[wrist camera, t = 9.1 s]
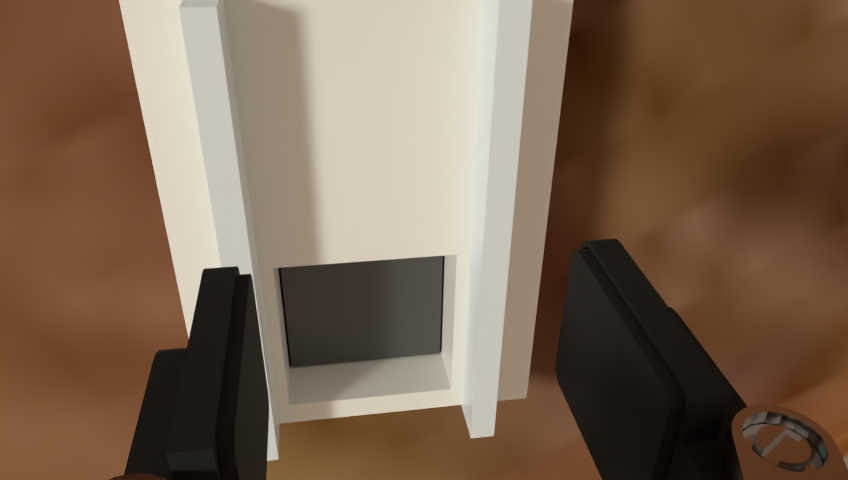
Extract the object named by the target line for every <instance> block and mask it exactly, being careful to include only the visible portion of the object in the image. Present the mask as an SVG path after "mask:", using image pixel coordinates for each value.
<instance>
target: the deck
mask: <svg viewBox="0 0 848 480" xmlns="http://www.w3.org/2000/svg"><path fill="white" fill-rule="evenodd" d="M119 3H120V7H121V12H122V17H123V22H124V27H125V32H126V37H127V41H128V46H129V51H130V56H131V61H132V66H133V71H134V75H135V80H136V85H137V90H138V95H139V100H140V104H141V109H142V114H143V119H144V124H145V129H146V134H147V138H148V143H149V148H150V153H151V158H152V163H153V168H154V172H155V177H156V182H157V187H158V192H159V197H160V201H161V206H162V211H163V216H164V221H165V226H166V231H167V235H168V240H169V245H170V250H171V255H172V260H173V265H174V269H175V274H176V279H177V284H178V289H179V294H180V298H181V303H182V308H183V313H184V318H185V323H186V328H187V332H188V337H189V336H190V331H191V326H192V321H193V316H194V311H195V306H196V301H197V296H198V291H199V286H200V281H201V276H202V272H203V269H206V268H220V267H234V266H237V267H238V268H239V272H240V275H241V274H251V275H252V280H253V287H254V294H255V301H256V309H257V316H258V323H259V330H260V338H261V345H262V352H263V359H264V366H265V374H266V381H267V388H268V397H269V426H268V449H267V461H270V460H278V459H279V423H289V422H298V421H308V420H318V419H327V418H337V417H347V416H357V415H366V414H376V413H386V412H395V411H405V410H415V409H424V408H434V407H444V406H453V405H462V409H463V412H464V416H465V420H466V423H467V427H468V430H469V434H470V438H479V437H488V436H494V427H495V416H496V405H497V401H502V400H512V399H521V398H526V397H527V388H528V380H529V372H530V363H531V355H532V346H533V338H534V329H535V321H536V313H537V304H538V296H539V287H540V279H541V270H542V262H543V254H544V245H545V237H546V228H547V220H548V211H549V203H550V194H551V186H552V178H553V169H554V161H555V152H556V144H557V135H558V127H559V119H560V110H561V102H562V93H563V85H564V76H565V68H566V60H567V51H568V43H569V34H570V26H571V17H572V9H573V0H119ZM443 256H444V280H443V311H442V342H441V352H440V333H441V301H442V268H443ZM278 268H281V277H282V286H283V295H284V304H285V313H286V322H287V331H288V340H289V348H290V357H291V366H290V365H289V357H288V348H287V339H286V330H285V322H284V313H283V304H282V295H281V287H280V278H279V269H278Z"/></svg>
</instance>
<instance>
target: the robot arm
mask: <svg viewBox="0 0 848 480" xmlns="http://www.w3.org/2000/svg"><path fill="white" fill-rule="evenodd" d="M556 375H557V380H558V383H559V386H560V388H561V390H562V392H563V394H564V397H565V399H566V401H567V403H568V405H569V407H570V410H571V412H572V414H573V416H574V418H575V421H576V423H577V425H578V427H579V429H580V432H581V434H582V436H583V438H584V440H585V443H586V445H587V447H588V449H589V451H590V454H591V456H592V458H593V460H594V462H595V465H596V467H597V469H598V471H599V473H600V475H601V478H602V480H848V469H847V467H846V464H845V462H844V460H843V457H842V455H841V453H840V450H839V448H838V446H837V445H836V443H835V441H834V440H833V438H832V437H831V435H830V434H829V433H828V432H827V431H825V430H824V429H823V428H822V427H821V426H820V425H819V424H818V423H816V422H814V421H813V420H811V419H810V418H808V417H807V416H805V415H803V414H800V413H798V412H796V411H793V410H791V409H788V408H784V407H779V406H775V405H754V406H750V407H747V405H746V404H745V403H744V401H743V400H742V399H741V397H740V396H739V395H738V393H737V392H736V391H735V390H734V388H733V387H732V386H731V384H730V383H729V382H728V380H727V379H726V378H725V376H724V375H723V374H722V372H721V371H720V370H719V368H718V367H717V366H716V364H715V363H714V362H713V360H712V359H711V358H710V356H709V355H708V354H707V352H706V351H705V350H704V348H703V347H702V346H701V344H700V343H699V342H698V340H697V339H696V338H695V336H694V335H693V334H692V332H691V331H690V330H689V328H688V327H687V326H686V324H685V323H684V322H683V320H682V319H681V318H680V316H679V315H678V314H677V313H676V312H675V311H674V310H673V309H672V308H670V307H668V306H667V305H666V303H665V302H664V301H663V299H662V298H661V297H660V295H659V294H658V293H657V291H656V290H655V289H654V287H653V286H652V285H651V283H650V282H649V281H648V279H647V278H646V277H645V275H644V274H643V273H642V271H641V270H640V268H639V267H638V266H637V264H636V263H635V262H634V260H633V259H632V258H631V256H630V255H629V254H628V252H627V251H626V250H625V248H624V247H623V246H622V244H621V243H620V242H619V241H618V240H617V239H605V240H591V241H585V242H583V244H582V246H581V249H577V250H574V251H573V253H572V256H571V262H570V269H569V276H568V283H567V290H566V297H565V304H564V311H563V318H562V325H561V332H560V339H559V346H558V353H557V360H556ZM268 426H269V397H268V388H267V381H266V374H265V366H264V359H263V352H262V345H261V338H260V330H259V323H258V316H257V309H256V301H255V294H254V287H253V280H252V275H251V274H241V275H240V272H239V268H238V267H237V266H234V267H220V268H206V269H203V272H202V276H201V281H200V286H199V291H198V296H197V301H196V306H195V311H194V316H193V321H192V326H191V331H190V336H189V341H188V346H187V348H180V349H169V350H159V351H158V352H157V353H156V354H155V357H154V360H153V364H152V368H151V371H150V375H149V379H148V383H147V387H146V391H145V395H144V399H143V403H142V407H141V410H140V414H139V418H138V422H137V426H136V430H135V434H134V438H133V442H132V445H131V449H130V453H129V457H128V461H127V465H126V469H125V473H124V475H122V476H118V477H114V478H112V479H110V480H266V471H267V449H268Z"/></svg>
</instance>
